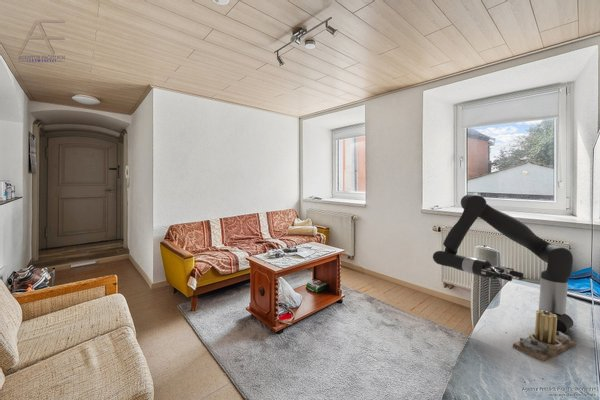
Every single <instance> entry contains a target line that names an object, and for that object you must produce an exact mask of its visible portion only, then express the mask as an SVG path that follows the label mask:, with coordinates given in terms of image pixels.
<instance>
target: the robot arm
mask: <svg viewBox="0 0 600 400" xmlns="http://www.w3.org/2000/svg"><path fill="white" fill-rule="evenodd" d="M460 206H461V208H462V209H463V211H462V213H461V215H460V217H459V219H458V221H457V222H455V224H454V225H453V226H452V227H451V229H450V230H449V232H448V233H447V234H446V237H445V239H444V241H443V246H444V247H445V249H444V251H443V250H437V251H435V252H434V253H433V254H432V261H434V263H436V264H437V265H441V266H444V267H450V268H453V269H456V270H459V271H462V272H466V273H468V274H471V275H474V276H477V277H481V278H485V279H486V278H490V279H493V280H497V279H498V280H504V281H509V282H512V281H513V277H515V278H518V279H524V273H523V272H520V271H517V270H514V268H511V267H506V266H502V265H493V266H492V264H491V262H490V261H489V260H485V259H479V258H476V257H472V256H471V257H469V256H464V255H459V254H458V250H459V247H460V246H461V244H462V243H463V241H464V239H465V237H466V235H467V233H468V232H469V231H470V229H471V228H472V226H473V225H474V223H475V221H476V220H477V219H478V218H479V219H481V220H483V221H484V222H485V223H487V224H488V225H490V227H492V228H493V229H495V230H496V231H498V232H499V233H500V234H501V235H503V236H505V237H507V238H508V239H509V240H511V241H513V242H515V243H516V244H518V245H519V246H523V247H524V248H525V249H528V250H529V251H530V252H531V253H533V254H534V255H535V256H536V257H538V258H539V259H540V260H542V261H543V262H544V263H547V266H546V270H542V271H541V273H540V284H539V285H540V286H539V297H538V298H539V299H538V311H541V310H543V311H549V312H554V313H557V314H561V315H562V314H567V313H566V312H567V300H568V299H567V298H568V284H569V283H568V282H569V279H570V277H571V276H572V271H573V263H574V257H573V254H572V252H571V251H570V250H569V249H568V248H566V247H563V246H559V245H556V244H553V243H551V242H548V241H547V240H544V239H542V238H541V237H539V236H538V235H536V234H535V233H534V232H533V231H532V230H531V228H529V227H528V226H527V225H526V224H525V223H523V222H522V221H520V220H518V219H517V218H515V217H513V216H511V215H509V214H507V213H505V212H502V211H501V210H498V209H496V208H494V207H492V206H491V205H489V204H488V203H487V200H486V199H485V198H484V196H482V195H479V194H474V193H473V194H472V193H471V194H470V193H469V194H465V195H464V196H463V197H462V198H461V199H460Z"/></svg>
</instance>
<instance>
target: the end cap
mask: <svg viewBox="0 0 600 400" xmlns="http://www.w3.org/2000/svg"><path fill="white" fill-rule="evenodd" d="M551 313H552V314H555V315H557V328H556V331H560V332H562V333H563V334H566V333H567V332H568V331H569V330H570V329H571V328H572V327H573V326H574V320H573V319H572V317H571V316H570V315H569V314H567V313H566V314H562V315H561V314H557V313H554V312H551Z"/></svg>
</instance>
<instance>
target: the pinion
mask: <svg viewBox="0 0 600 400" xmlns="http://www.w3.org/2000/svg"><path fill="white" fill-rule="evenodd" d="M556 328H557V315H555V314H552V313H551V312H549V311H543V310H541V311H539V309H537V310H536V314H535V329H534V333H535V339H536V340H538V341H541V342H543V343H545V344H551V345H555V342H556Z"/></svg>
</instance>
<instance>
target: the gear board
mask: <svg viewBox="0 0 600 400" xmlns="http://www.w3.org/2000/svg"><path fill="white" fill-rule="evenodd" d="M576 344H577V341H576V340H574V339H572V338H571V337H570V335H569V334H568V335H567V334H566V333H564V334H563V333H562V332H560V331H556V342H555V345H551V344H545V343H543V342H541V341H538V340H536V339H535V332H531V333H530V334H529V336H528V337H526V338H523V337H519V341H516V342H514V343H513V345H512V347H513V348H514V347H515V349H517V348H518V349H517V350H519V349H520V350H519V351H521V350H522V351H521V352H523V353H525V354H527V355H529V356H532V357H534V358H536V359H538V360H540V361H542V362H545V361H546V360H549V359H550V358H552V357H554V356H556V355H559V354H560V353H562V352H564V351H566V350H567V349H569V348H571V347H573V346H575V345H576Z"/></svg>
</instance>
